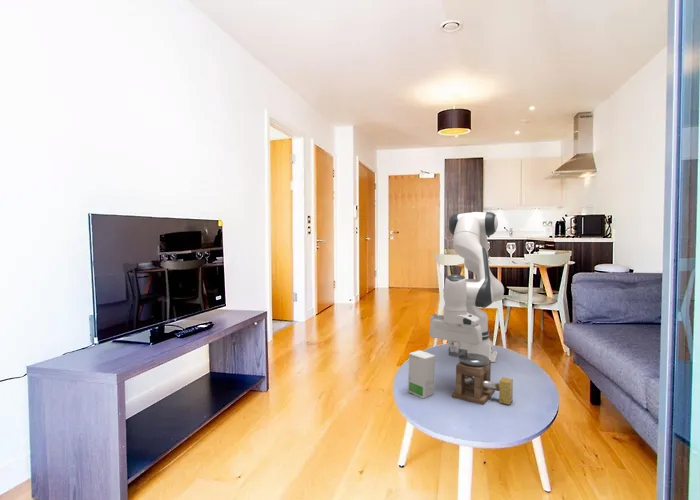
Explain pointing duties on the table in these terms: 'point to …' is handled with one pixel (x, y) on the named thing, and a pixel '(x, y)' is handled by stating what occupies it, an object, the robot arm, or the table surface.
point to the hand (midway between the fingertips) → (454, 352)
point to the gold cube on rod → (497, 388)
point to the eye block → (477, 391)
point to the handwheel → (470, 358)
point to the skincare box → (421, 373)
